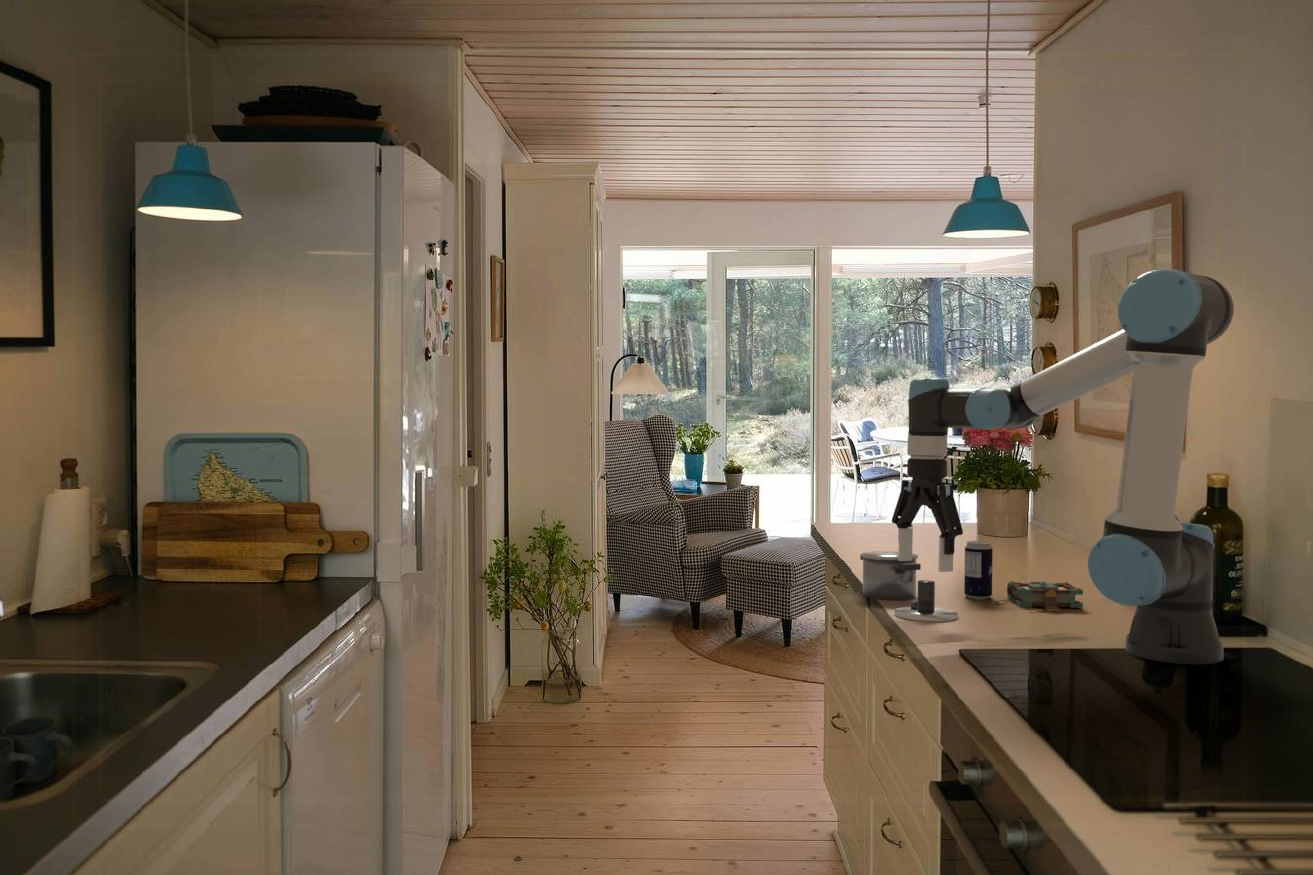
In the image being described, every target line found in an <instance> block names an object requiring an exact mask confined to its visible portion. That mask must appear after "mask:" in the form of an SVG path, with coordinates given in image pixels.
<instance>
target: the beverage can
mask: <svg viewBox="0 0 1313 875" xmlns="http://www.w3.org/2000/svg"><path fill="white" fill-rule="evenodd" d="M963 585H964V586H963V587H964V589H963V590H964V591H963V592H964V595H965V596H966V597H967V598H968V599H973V600H978V601H979V600H980V601H981V600H989V598H990V597H991V596H992V595H993V547H992V545H991V542H990V541H985V540H983V541H982V540H981V541H979V540H970V541H966V545H965V547H964V584H963Z"/></svg>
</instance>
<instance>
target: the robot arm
mask: <svg viewBox="0 0 1313 875" xmlns="http://www.w3.org/2000/svg"><path fill="white" fill-rule="evenodd" d="M1118 302H1119V303H1118V306H1117V317H1118V323H1119V324H1120V326H1121V328H1122V329H1121V330H1119V331H1117V332H1115V333H1112V334H1111V335H1110V336H1108V337H1105V338H1104V339H1101V340H1100V341H1098V342H1095V343H1093V344H1092V345H1091V346H1088V347H1086V348H1084V349H1082V350H1080V351H1077V352H1076V353H1074V354H1072V355H1071V356H1068V357H1066V358H1065V359H1063V360H1061V361H1059V362H1057V363H1055V364H1053V365H1050V366H1049V367H1047V368H1045V369H1043V370H1041V371H1039V372H1037V373H1035V374H1034V375H1031V376H1029V377H1027V378H1025V379H1023V380H1022V381H1020V382H1018V383H1016V384H1014V385H1012V386H1010V387H1008V388H1006V389H998V388H991V387H980V388H951V387H950V382H949V380H948V379H947V378H940V377H939V378H938V377H937V378H933V377H932V378H922V377H921V378H914V379H912V380H910V383H909V393H908V394H909V395H908V399H907V403H908V432H907V433H908V434H907V449H906V450H907V452H906V453H907V456H909V457H910V458H908V459H907V461H906V462H907V463H906V464H907V466H906V469H907V470H906V475H907V477H909V478H912V479H902V480H901V485H900V486H901V487H900V493H899V495H898V499H897V502H896V505H895V508H894V512H893V515H892V518H891V522H892V524H895V525H896V527H897V528H898V536H897V537H898V552H899V558H898V561H912V553H913V532H914V531H913V530H914V529H913V528H914V526H913V521H914V520H915V518H916V517H917V515H918V513H919V511H920V509H921V507H922V506H925V507H927V508H928V509H930V510H931V512H932V515H933V517H934V520H935V522H936V525H937V527H938V529H939V531H940V533H941V534H940V535H939V537H938V540H939V541H938V572H940V573H949V572H953V571H954V554H955V541H956V537H959V536H962V535H963V533H964V531H963V526H962V522H961V518H960V515H959V512H958V509H957V504H956V500H955V497H954V486H953V484H943V479H945V478H946V477H948V460H947V459H946V458H945V457H946V456H948V435H949V433H948V432H949V428H951V429H955V428H956V429H974V430H975V429H977V430H981V431H982V430H983V431H984V430H997V429H1013V430H1020V429H1023V428H1027V427H1028V428H1029V427H1031V426H1033V425H1034V424H1035V423H1037V421H1038V420H1039V418H1040V417H1041V416H1043V415H1046V414H1048V413H1049V412H1051V411H1054V410H1056V409H1058V408H1060V407H1062V406H1064V405H1066V404H1069V403H1071V402H1073V401H1075V400H1077V399H1079V398H1082V397H1083V396H1085V395H1088V394H1089V393H1091V392H1094V391H1096V390H1098V389H1099V388H1100V389H1101V388H1102V387H1104V386H1106V385H1108V384H1111V383H1113V382H1116V381H1117V380H1120V379H1121V378H1124V377H1125V376H1128V375H1129V374H1132V377H1131V378H1132V379H1131V387H1130V395H1129V402H1128V409H1127V410H1128V411H1127V419H1126V427H1125V434H1124V445H1123V451H1122V452H1123V453H1122V458H1121V469H1120V477H1119V484H1118V492H1117V499H1116V500H1117V501H1116V507H1115V509H1114V510H1112V511H1111V512H1110V513H1109V514H1107V515H1106V516H1105V518H1104V523H1103V524H1104V525H1103V532H1102V537H1101V538H1100V539H1099V540H1098V541H1097V542H1096V543H1095V544H1094V545H1093V546H1092V548H1091V549H1090V551H1089V554H1088V558H1087V568H1088V574H1089V576H1090V577H1089V578H1090V580H1091V582H1092V583H1093V585H1094V586H1095V587H1096V589H1097V590H1098V591H1099V593H1100V594H1101V595H1103V597H1105V598H1106V599H1108V600H1109V601H1111V602H1113V603H1115V604H1119V605H1123V606H1129V607H1130V606H1136V609H1135V612H1134V616H1133V618H1132V621H1131V625H1130V628H1129V631H1128V633H1127V634H1126V636H1125V651H1126V652H1127V653H1129V654H1130V655H1132V656H1135V657H1138V658H1142V659H1146V660H1150V661H1156V662H1161V663H1169V664H1177V665H1178V664H1181V665H1212V664H1217V663H1221V662H1222V661H1224V645H1223V642H1222V641H1221V640H1220V636H1219V633H1218V629H1217V628H1218V627H1217V625H1216V621H1215V619H1214V615H1213V596H1214V594H1213V592H1214V589H1213V588H1214V551H1215V549H1216V548H1215V547H1216V546H1215V543H1214V533H1213V530H1212V529H1211V527H1209V526H1207V525H1204V524H1199V523H1198V524H1197V523H1189V522H1187V523H1186V522H1180V521H1179V520H1178V519H1177V517H1176V516H1175V511H1176V503H1177V495H1178V487H1179V480H1180V471H1181V465H1182V464H1181V463H1182V458H1183V456H1182V455H1183V449H1184V441H1185V434H1186V433H1185V432H1186V425H1187V418H1188V411H1189V410H1188V409H1189V403H1190V394H1191V393H1190V392H1191V386H1192V385H1191V384H1192V377H1193V373H1194V372H1193V371H1194V368H1195V367H1196V366H1197V365H1198V364H1199V363H1201V362H1202V361H1204V360H1205V359H1206V353H1207V346H1208V345H1209V344H1212V343H1213V342H1215V341H1216V340H1218V339H1219V338H1220V337H1221V336H1223V334H1225V333H1226V331H1227V330H1228V329H1229V326H1230V325H1231V323H1232V319H1233V318H1234V317H1233V316H1234V308H1235V307H1234V301H1233V297H1232V294H1231V293H1230V292H1229V289H1227V288H1226V287H1225V286H1224V284H1222V283H1221V282H1220V281H1218V280H1216V279H1214V278H1212V277H1211V276H1210V277H1209V276H1206V275H1200V274H1195V273H1191V272H1188V271H1185V270H1182V269H1173V268H1170V269H1165V268H1164V269H1162V268H1161V269H1156V270H1155V269H1154V270H1149V271H1147V272H1145V273H1143V274H1141V275H1139V276H1138V277H1136V278H1135V279H1134V280H1133V281H1131V282H1130V283H1129V284H1128V285H1127V286H1126V287H1125V289H1124V291H1123V292H1122V294H1121V296H1120V299H1119V301H1118Z"/></svg>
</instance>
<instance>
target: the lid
mask: <svg viewBox="0 0 1313 875" xmlns="http://www.w3.org/2000/svg"><path fill="white" fill-rule="evenodd" d="M935 583H936V582H935V581H934V580H925V579H923V580H921V579H920V580H918V581H917V600H910V606H902V607H901V606H900V607H897V608H894V614H893V615H894V616H895V617H896V618H899V619H902V620H907V621H911V622H912V621H913V622H924V623H925V622H926V623H945V622H951V621H952V622H953V621H956V620H958V619H959V613H958V612H957V611H956V610H952V609H950V608H949V609H948V608H943V607H937V606H936V607H935V597H936V596H935V594H936V592H935V590H936V588H935V587H936V586H935V585H936V584H935Z"/></svg>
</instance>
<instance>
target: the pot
mask: <svg viewBox="0 0 1313 875" xmlns="http://www.w3.org/2000/svg"><path fill="white" fill-rule="evenodd" d="M859 556H860V557H859V558H860V561H861V560H862V595H863V596H865V597H867V598H870V599H875V600H880V601H889V602H890V601H891V602H892V601H893V602H895V601H896V602H899V601H912V600H913V599H916V597H917V571H921V570H922V569H921V566H922V565H921V563H918V562H917V559H919V555H918V554H916V553H913V552H912V561H898V558H899V551H890V550H875V551H872V550H871V551H865V552H861V553H860V555H859Z"/></svg>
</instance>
